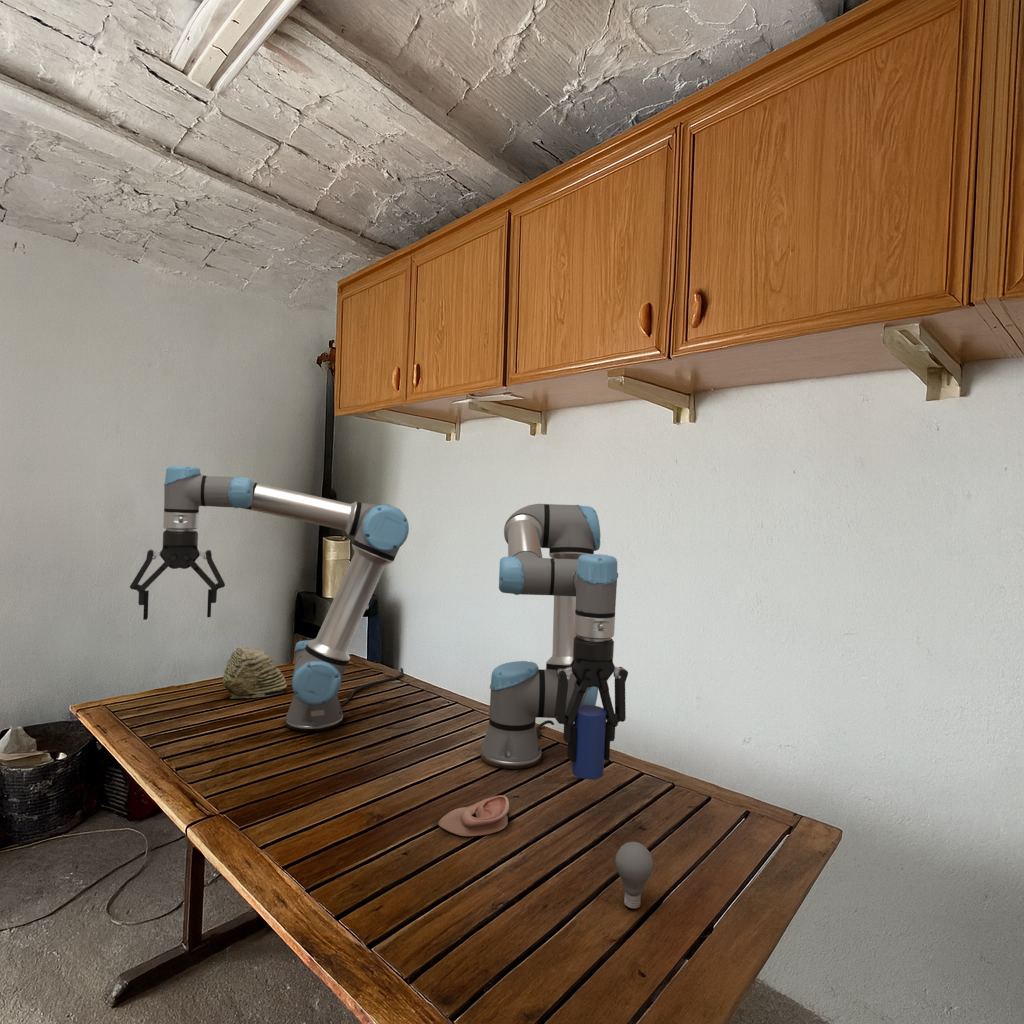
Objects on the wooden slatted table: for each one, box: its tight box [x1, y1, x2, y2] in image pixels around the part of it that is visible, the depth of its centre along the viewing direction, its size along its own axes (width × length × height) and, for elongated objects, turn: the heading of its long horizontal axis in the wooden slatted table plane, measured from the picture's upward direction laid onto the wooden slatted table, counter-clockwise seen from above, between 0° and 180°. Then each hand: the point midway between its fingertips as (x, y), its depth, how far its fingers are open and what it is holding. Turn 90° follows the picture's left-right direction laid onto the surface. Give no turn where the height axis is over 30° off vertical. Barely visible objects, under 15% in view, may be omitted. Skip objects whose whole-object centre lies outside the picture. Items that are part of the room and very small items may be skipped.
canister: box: [571, 705, 607, 781], centre depth 120 cm, size 6×6×12 cm
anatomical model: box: [437, 794, 510, 837], centre depth 126 cm, size 13×4×12 cm
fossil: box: [222, 646, 288, 699], centre depth 198 cm, size 9×18×15 cm, turn 132°
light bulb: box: [614, 841, 654, 909], centre depth 101 cm, size 6×6×10 cm
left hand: (177, 617), depth 154 cm, fingers open, 13 cm apart
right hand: (588, 758), depth 120 cm, fingers closed on canister, 6 cm apart
